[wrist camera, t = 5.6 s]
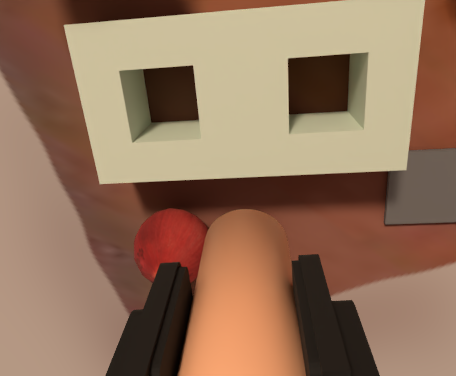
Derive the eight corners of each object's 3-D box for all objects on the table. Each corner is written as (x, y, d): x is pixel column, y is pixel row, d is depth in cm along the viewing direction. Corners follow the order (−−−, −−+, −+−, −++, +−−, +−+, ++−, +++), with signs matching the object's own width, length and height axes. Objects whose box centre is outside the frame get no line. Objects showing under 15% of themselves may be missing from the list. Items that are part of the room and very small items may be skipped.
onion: (182, 263, 35) (162, 329, 28) (134, 220, 34) (99, 278, 26) (230, 226, 33) (221, 286, 26) (181, 178, 32) (157, 228, 25)
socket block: (396, -4, 25) (425, -7, 21) (383, 145, 30) (406, 170, 25) (96, 22, 27) (63, 24, 23) (122, 158, 31) (99, 184, 27)
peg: (286, 206, 14) (359, 606, 4) (289, 278, 15) (352, 711, 6) (199, 211, 14) (98, 600, 5) (209, 282, 15) (144, 701, 6)
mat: (503, 145, 29) (507, 147, 29) (488, 218, 31) (491, 220, 31) (390, 151, 30) (391, 153, 29) (383, 221, 32) (385, 224, 32)
